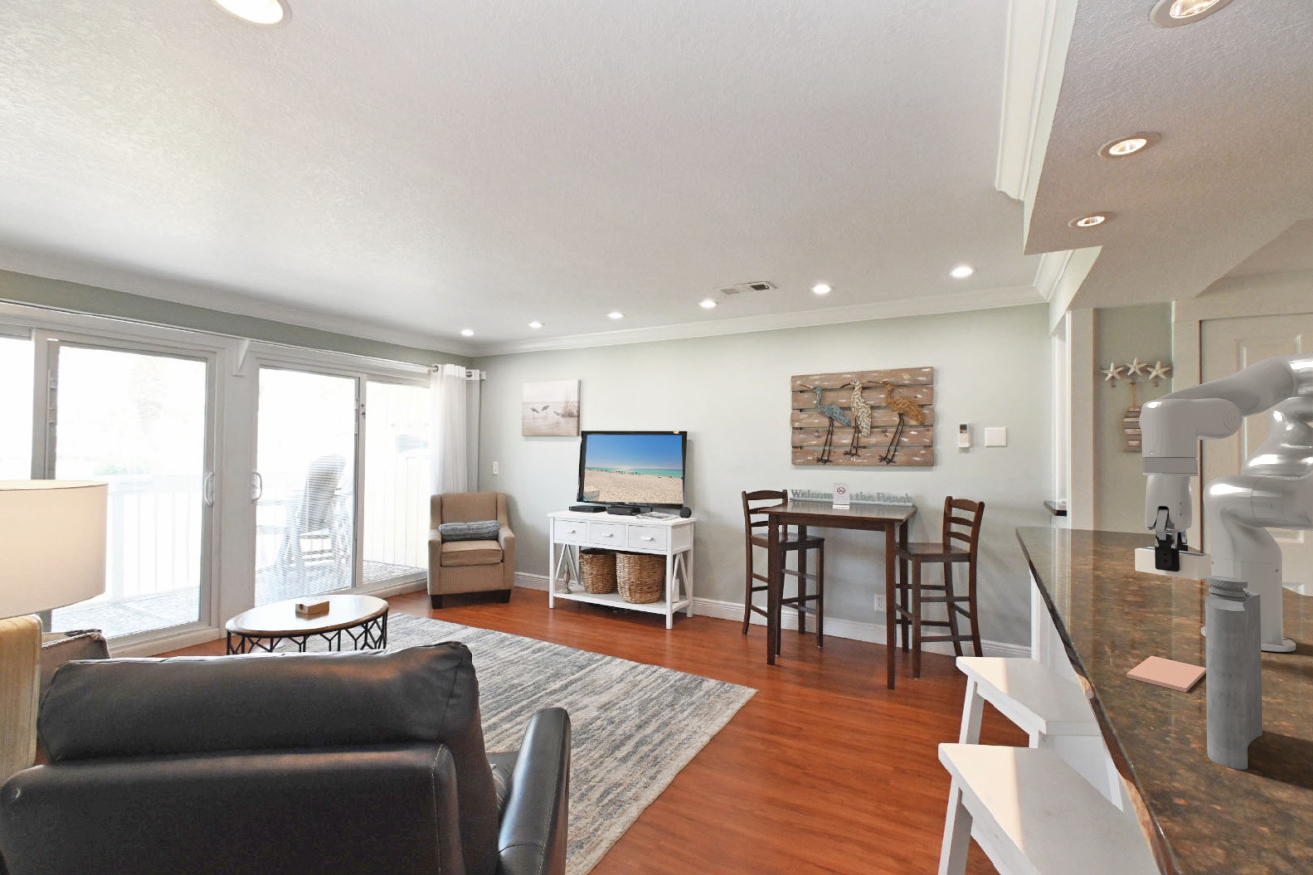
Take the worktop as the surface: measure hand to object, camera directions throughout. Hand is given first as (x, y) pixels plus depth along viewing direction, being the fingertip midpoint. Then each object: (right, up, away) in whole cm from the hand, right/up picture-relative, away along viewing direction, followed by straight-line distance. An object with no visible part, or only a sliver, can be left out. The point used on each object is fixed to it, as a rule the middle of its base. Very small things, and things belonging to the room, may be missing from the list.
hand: (1171, 567), depth 104 cm
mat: (-11, -15, -12) cm, 22 cm away
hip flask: (-23, -14, -34) cm, 43 cm away
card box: (0, -1, 0) cm, 1 cm away
